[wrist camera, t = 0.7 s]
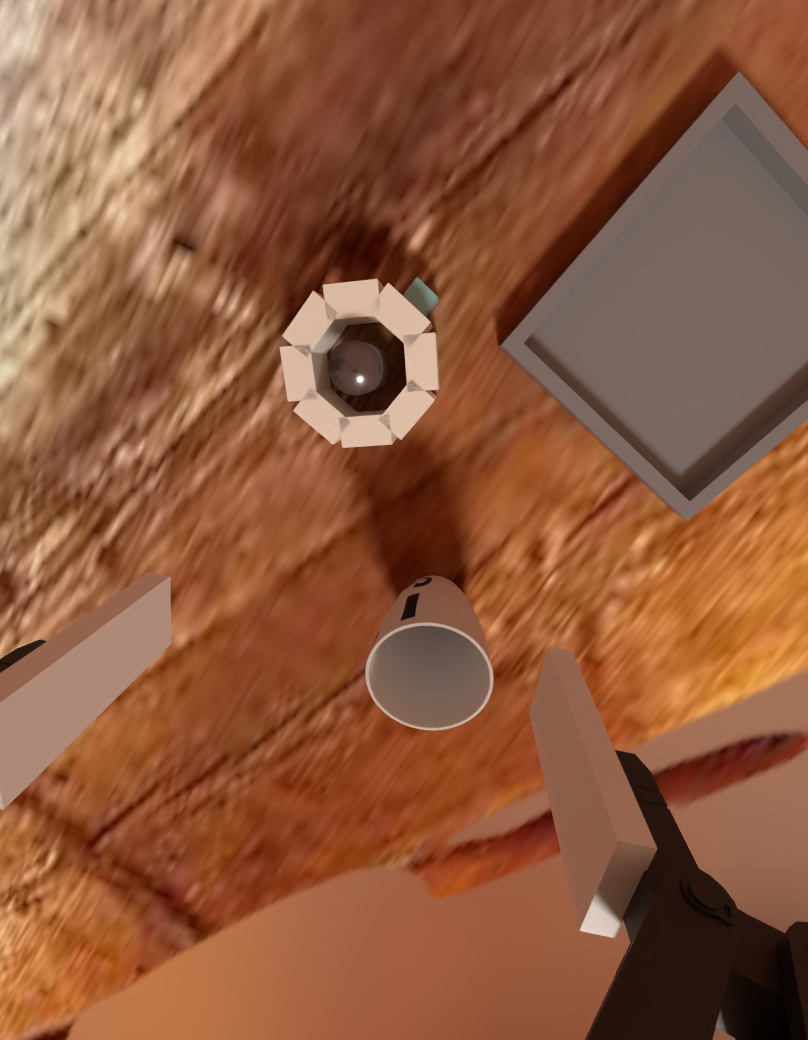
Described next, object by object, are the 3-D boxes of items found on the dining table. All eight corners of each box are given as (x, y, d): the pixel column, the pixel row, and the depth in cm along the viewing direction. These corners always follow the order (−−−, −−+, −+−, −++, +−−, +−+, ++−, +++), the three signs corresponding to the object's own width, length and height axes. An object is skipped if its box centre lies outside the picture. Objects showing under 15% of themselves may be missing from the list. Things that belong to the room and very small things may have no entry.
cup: (424, 539, 37) (415, 598, 27) (503, 596, 38) (520, 672, 28) (367, 609, 39) (341, 684, 30) (442, 661, 40) (440, 750, 31)
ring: (275, 376, 34) (253, 377, 30) (372, 238, 30) (361, 220, 27) (378, 464, 35) (370, 476, 31) (482, 342, 32) (487, 338, 28)
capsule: (338, 371, 33) (318, 371, 28) (366, 334, 32) (350, 328, 27) (372, 400, 34) (358, 406, 29) (400, 365, 33) (390, 365, 28)
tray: (498, 346, 32) (501, 345, 30) (718, 92, 26) (739, 70, 25) (674, 512, 34) (687, 520, 32) (908, 310, 29) (941, 305, 27)
